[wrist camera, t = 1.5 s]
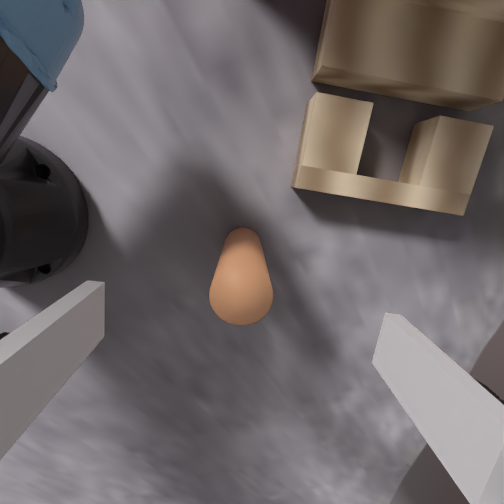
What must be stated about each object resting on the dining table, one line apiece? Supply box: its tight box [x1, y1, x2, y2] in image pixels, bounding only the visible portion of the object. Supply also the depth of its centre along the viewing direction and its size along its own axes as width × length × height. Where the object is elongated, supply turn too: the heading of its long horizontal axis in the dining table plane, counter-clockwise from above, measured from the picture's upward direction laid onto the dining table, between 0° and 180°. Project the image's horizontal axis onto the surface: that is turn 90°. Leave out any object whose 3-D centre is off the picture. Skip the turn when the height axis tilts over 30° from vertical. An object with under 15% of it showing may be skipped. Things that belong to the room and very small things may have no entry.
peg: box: [209, 227, 273, 325], centre depth 25 cm, size 4×4×14 cm
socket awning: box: [291, 0, 504, 216], centre depth 19 cm, size 16×17×19 cm
